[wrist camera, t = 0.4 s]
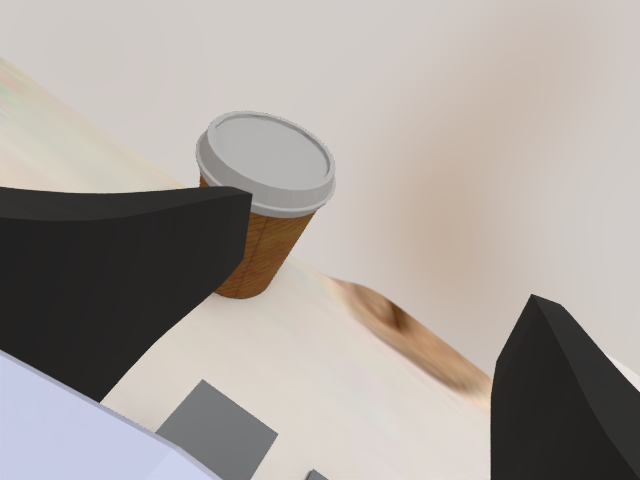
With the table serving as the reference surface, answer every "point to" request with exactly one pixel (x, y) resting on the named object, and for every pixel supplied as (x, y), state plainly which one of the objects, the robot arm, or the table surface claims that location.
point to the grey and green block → (218, 433)
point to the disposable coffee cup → (266, 187)
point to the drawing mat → (316, 476)
